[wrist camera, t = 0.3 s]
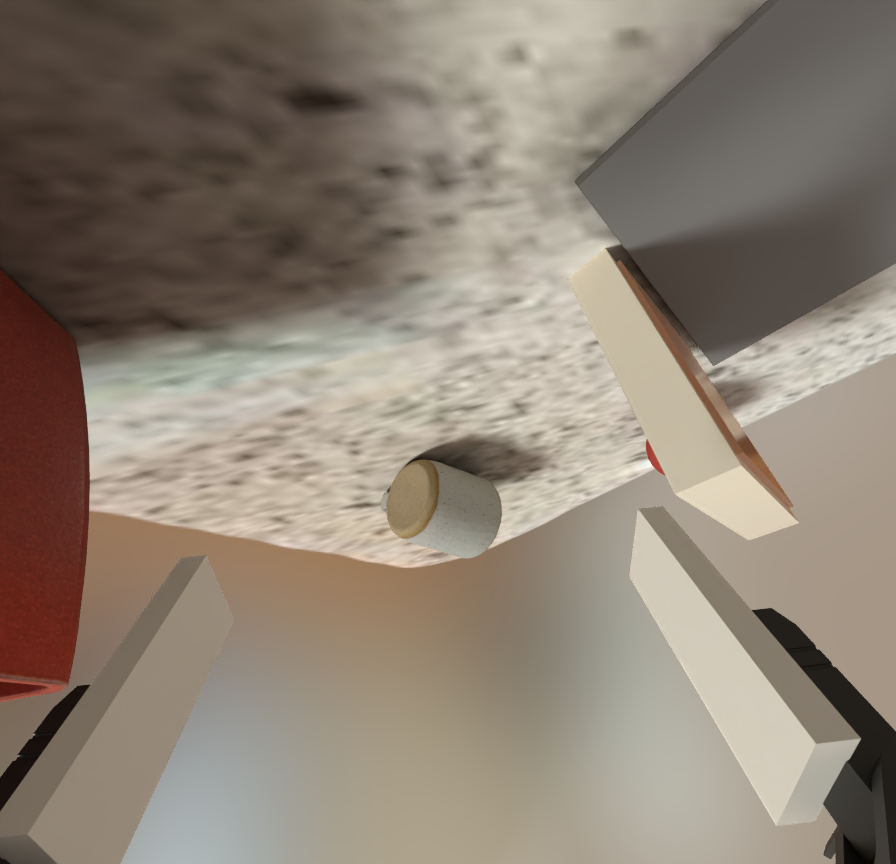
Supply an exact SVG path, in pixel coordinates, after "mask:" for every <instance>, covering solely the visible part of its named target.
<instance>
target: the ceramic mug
mask: <svg viewBox="0 0 896 864" xmlns="http://www.w3.org/2000/svg"><path fill="white" fill-rule="evenodd" d="M381 509H382V510H383V511H385V512H386V513H387V519H388V522H389V526H390V528H391V529H392V531H393V532H394V533H395V534H396V535H398V536H399V537H401V538H402V539H404V540H406V541H408V542H410V543H413V544H416V545H419V546H424V547H428V548H431V549H434V550H438V551H441V552H444V553H448V554H451V555H454V556H457V557H461V558H472V557H475V556H478V555H480V554H481V553H483V552H484V551H485V550H486V549H487V548H488V547H489V546H490V545H491V544H492V542H493V541H494V539H495V537H496V535H497V532H498V529H499V526H500V523H501V516H502V508H501V500H500V497H499V494H498V492H497V490H496V488H495V487H494V486H493V484H492V483H490V482H489V481H488V480H486V479H484V478H482V477H479V476H476V475H473V474H470V473H467V472H465V471H462V470H459V469H456V468H453V467H450V466H448V465H445V464H442V463H440V462H436V461H431V460H422V459H421V460H417V461H413V462H411V463H410V464H408V465H407V466H405V467H404V468H403V469H402V470H401V471H400V472H399V473H398V475H397V476H396V478H395V480H394V481H393V483H392V486H391V488H390V491H389V492H387V493H384V495H383V498H382V502H381Z"/></svg>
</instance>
